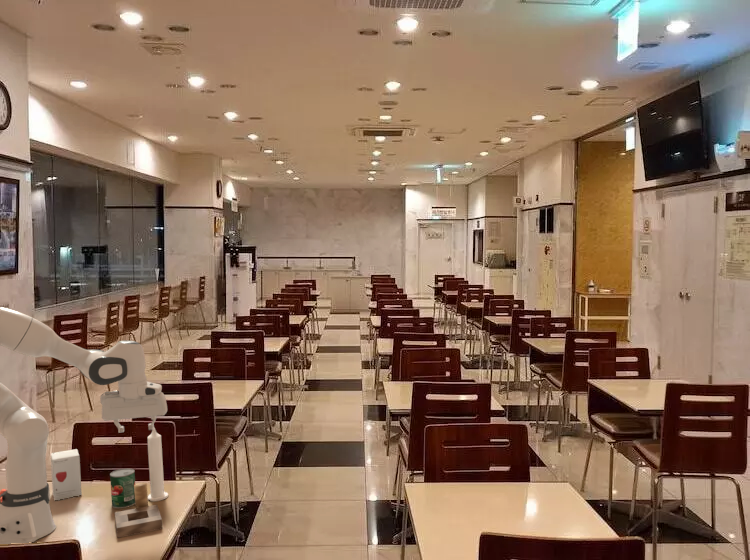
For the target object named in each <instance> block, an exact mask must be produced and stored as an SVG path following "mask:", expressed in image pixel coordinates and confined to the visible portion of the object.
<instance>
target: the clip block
mask: <svg viewBox="0 0 750 560" xmlns="http://www.w3.org/2000/svg"><path fill="white" fill-rule="evenodd" d="M114 519H115V520H114V521H115V529H116V536H117V538H122V537H127V536H128V537H129V536H132V535H138V534H142V533H147V532H148V533H149V532H152V531H157V530H162V529H163V520H162V519H163V518H162V516H161V512H160V508H159V506H158V504H154V505H153V504H152V505H148V506H147V507H141V508H131V509H125V510H122V511H115V512H114Z"/></svg>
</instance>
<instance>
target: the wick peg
mask: <svg viewBox="0 0 750 560" xmlns="http://www.w3.org/2000/svg"><path fill="white" fill-rule="evenodd" d="M134 492H135V504H134V506H135V508H134V509H136V508H141V507H147V506H149V500H148V495H149V493H148V483H147V482H137V483H135V485H134Z"/></svg>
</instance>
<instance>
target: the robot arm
mask: <svg viewBox="0 0 750 560" xmlns="http://www.w3.org/2000/svg"><path fill="white" fill-rule="evenodd" d="M0 347H4V348H6V349H8V350H11V351H13V352H15V353H18V354H21V355H24V356H27V357H31V358H41V357H48V358H54V359H56V360H58V361H61V362H64V363H65V364H68V365H70V366H73V367H75V368H76V369H77V370H79V372H80V373H81V374H82V375H83V376H84V377H85V378H86V379H88V380H90V381H91V382H92V383H94V384H95V385H99V386H107V385H110V384H114V383H116V382H117V384H118V385H117V386H118V390H113V391H104V393H102V394H101V395H100V397H99V398H100V404H101V419H102V420H103V421H113V423H114V425H115V426H116V428H117V430H118V434H119V433H124V432H125V426H124V425H121V424H120V420H127V419H137V418H138V419H139V418H150V419H151V422H150V423H148V424H147V425H148V426H147V427H148V431H152V430H153V429H154V427H155V425H154V424H155V423H156V420H157V418H158V417H162V416H165V415H166V414H167V412H168V404H167V399H166V396H165V394H164V392H162V389H163V386H162V384H160V383H155V382H151V381H148V378H147V375H146V372H145V371H146V357H145V355H146V354H145V351H144V347H143V345H142V344H141V343H139V342H138V341H133V340H120V341H117V343H116V344H115V345H113V346H112V347H110V348H109V349H108V350H106V351H104V350H101V349H88V348H87V349H86V348H83V347H81V346H78V345H76V344H74V343H72V342H70V341H68V340H65V339H64V338H62V337H60V336H59V335H58V334H57V333H56V332H55V331H54V329H52V328H51V327H50V326H49V325H48V324H46V323H44V322H43V321H40V320H39V319H36V318H34V317H32V316H30V315H28V314H25V313H23V312H21V311H17V310H14V309H11V308H7V307H2V306H0ZM0 435H1V436H2V437H3V438H4V439H5V440H6V444H7V455H6V456H7V457H6V463H5V480H6V488H1V489H0V544H11V543H29V542H33V543H34V542H36V541H37V540H38V539H39V540H40V539H41V538H43V537H45V536H47V535H49V534H51V533H53V532H54V531H55V530H56V527H57V525H56V523H55V520H54V517H53V515H52V511H51V505H50V502H51V501H50V499H51V493H50V492H51V491H50V485H49V483H48V478H47V476H48V475H47V462H46V461H47V460H46V458H47V450H48V438H49V435H50V427H49V425H48V421H47V420H46V418H45V417H44V416H43V415H41V414H40V413H38V412H37V411H36V410H35V409H32V408H31V407H30V406H29V405H28V404H26V402H24V401H23V400H22V399H21V398H20V397H19V396H18V395H16V394H15V393H14V392H13V391H12V390H11V389H10V388H8V387H7V386H6V385H5V384H4V383H2V382H1V381H0Z"/></svg>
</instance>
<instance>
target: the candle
mask: <svg viewBox="0 0 750 560" xmlns="http://www.w3.org/2000/svg"><path fill="white" fill-rule="evenodd" d="M162 446H163V445H162V435H161V434H159V433H158V432H157V430H156V428H155V426H154V429H153V430H151V433H150V434H149V435H148V436H147V455H148V471H149V489H150V490H149V491H150V493H148V501H149V500H150V501H149V502H159V501H163V500H165V499H167V498H168V497H169V492H167V491H165V482H164V481H165V480H164V465H163V462H164V461H163V448H162Z"/></svg>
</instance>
